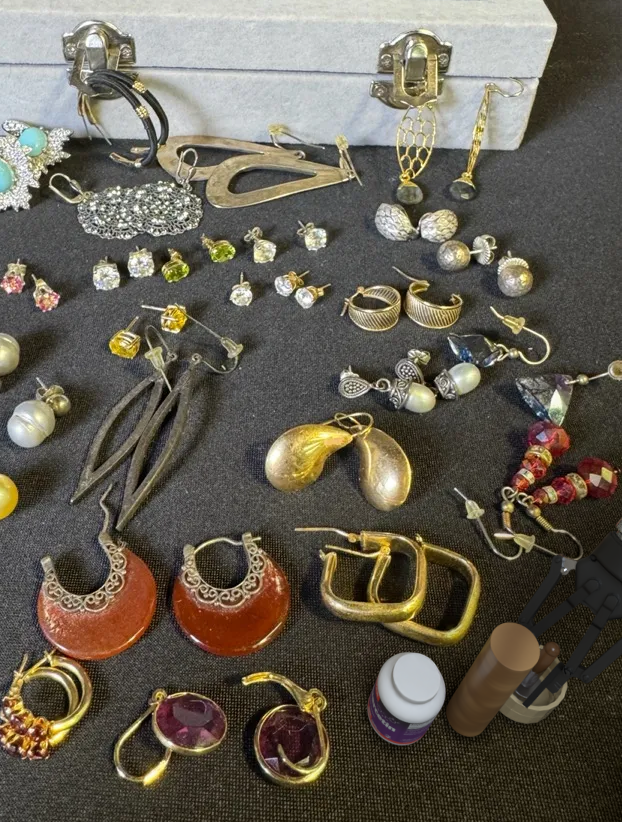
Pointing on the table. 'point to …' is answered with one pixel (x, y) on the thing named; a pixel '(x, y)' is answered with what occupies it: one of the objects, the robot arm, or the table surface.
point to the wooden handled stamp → (537, 671)
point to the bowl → (535, 702)
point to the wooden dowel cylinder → (492, 678)
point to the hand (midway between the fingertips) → (515, 691)
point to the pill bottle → (406, 698)
